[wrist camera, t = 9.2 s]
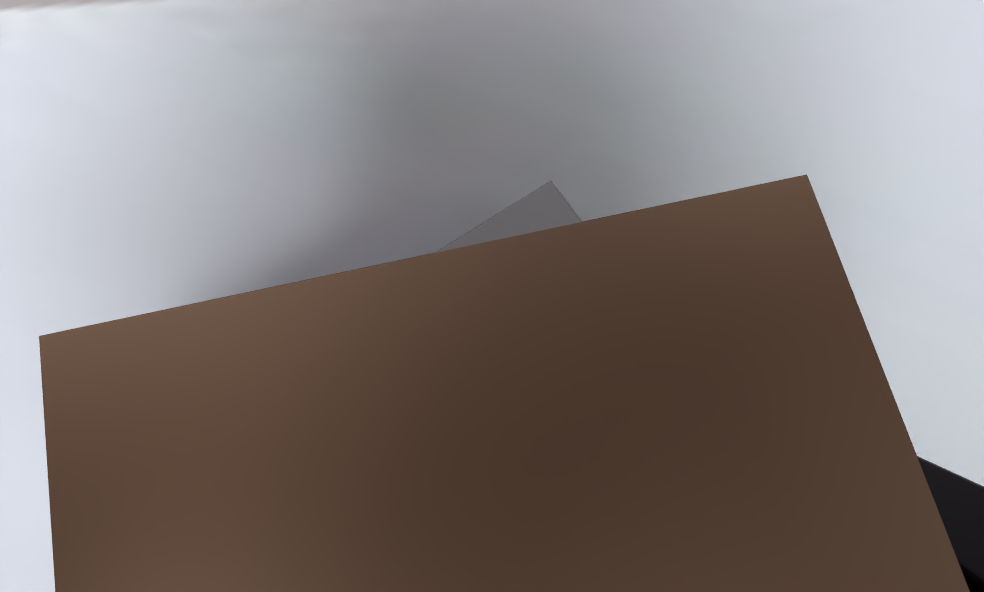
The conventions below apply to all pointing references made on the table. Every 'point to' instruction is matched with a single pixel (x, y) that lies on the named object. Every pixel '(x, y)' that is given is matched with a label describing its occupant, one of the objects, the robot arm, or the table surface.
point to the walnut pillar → (504, 423)
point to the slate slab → (522, 218)
